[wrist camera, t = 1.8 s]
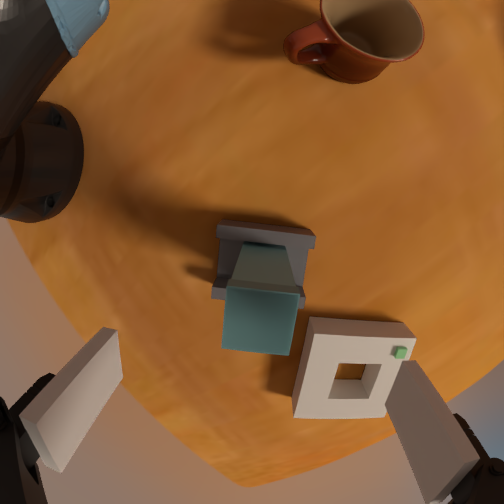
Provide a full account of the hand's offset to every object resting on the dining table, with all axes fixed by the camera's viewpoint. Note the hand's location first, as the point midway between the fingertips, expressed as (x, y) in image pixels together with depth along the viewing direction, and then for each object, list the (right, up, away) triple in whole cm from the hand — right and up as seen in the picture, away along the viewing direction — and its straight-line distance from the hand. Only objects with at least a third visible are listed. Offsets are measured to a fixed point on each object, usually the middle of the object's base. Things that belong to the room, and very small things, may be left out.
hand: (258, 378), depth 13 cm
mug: (+8, +26, +14) cm, 30 cm away
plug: (+1, +5, +19) cm, 19 cm away
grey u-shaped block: (+1, +5, +19) cm, 20 cm away
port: (+11, -8, +22) cm, 26 cm away
